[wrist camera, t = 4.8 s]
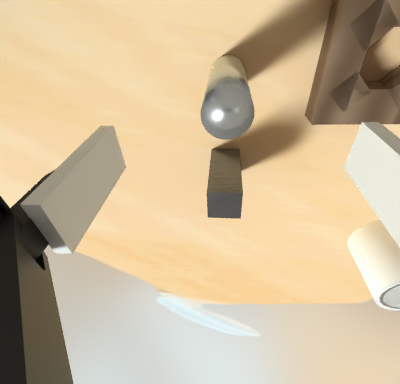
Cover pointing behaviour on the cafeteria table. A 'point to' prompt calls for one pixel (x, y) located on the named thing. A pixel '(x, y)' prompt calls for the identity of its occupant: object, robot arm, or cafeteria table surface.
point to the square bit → (224, 184)
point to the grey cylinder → (227, 100)
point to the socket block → (354, 66)
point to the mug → (378, 263)
